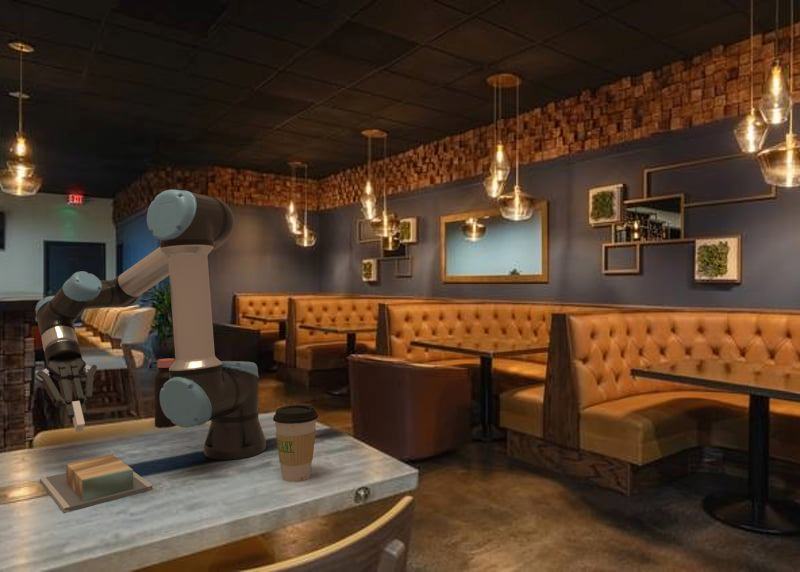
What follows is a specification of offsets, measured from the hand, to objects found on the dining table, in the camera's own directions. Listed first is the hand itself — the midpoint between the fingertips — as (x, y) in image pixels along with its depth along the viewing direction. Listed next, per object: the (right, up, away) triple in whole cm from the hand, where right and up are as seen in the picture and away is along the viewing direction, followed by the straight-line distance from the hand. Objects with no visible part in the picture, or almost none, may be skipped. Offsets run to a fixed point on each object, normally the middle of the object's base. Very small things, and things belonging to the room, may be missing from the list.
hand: (80, 427), depth 122 cm
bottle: (+2, -10, +41) cm, 42 cm away
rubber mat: (+8, -10, -8) cm, 15 cm away
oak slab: (+5, -7, -5) cm, 11 cm away
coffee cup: (+50, -10, -4) cm, 51 cm away
